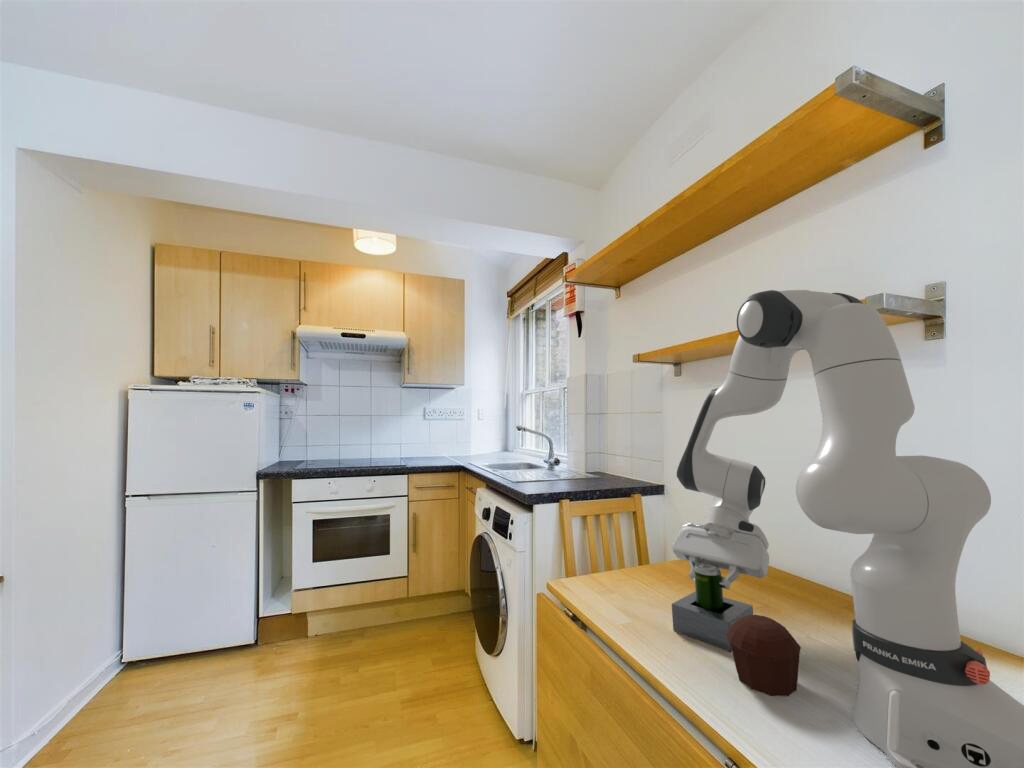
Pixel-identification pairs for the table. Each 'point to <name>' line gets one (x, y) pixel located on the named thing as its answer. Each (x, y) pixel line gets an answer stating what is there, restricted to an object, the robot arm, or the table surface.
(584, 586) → the table surface
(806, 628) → the table surface
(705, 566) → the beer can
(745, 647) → the muffin
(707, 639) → the holder block
